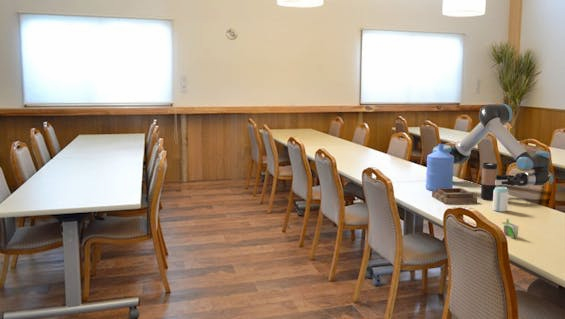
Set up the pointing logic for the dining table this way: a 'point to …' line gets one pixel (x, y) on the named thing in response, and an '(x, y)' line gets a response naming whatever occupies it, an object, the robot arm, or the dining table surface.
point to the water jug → (439, 170)
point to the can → (500, 199)
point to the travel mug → (488, 180)
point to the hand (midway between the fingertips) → (489, 180)
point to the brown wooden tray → (454, 196)
